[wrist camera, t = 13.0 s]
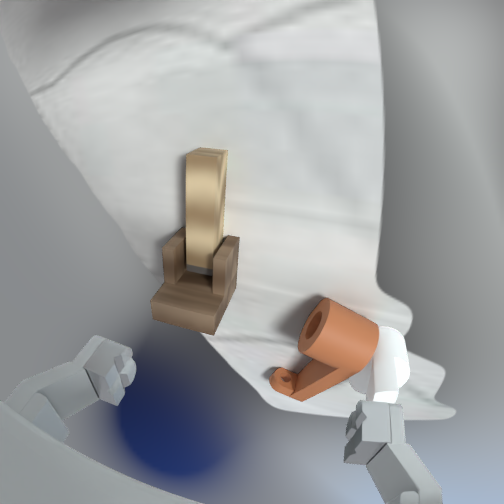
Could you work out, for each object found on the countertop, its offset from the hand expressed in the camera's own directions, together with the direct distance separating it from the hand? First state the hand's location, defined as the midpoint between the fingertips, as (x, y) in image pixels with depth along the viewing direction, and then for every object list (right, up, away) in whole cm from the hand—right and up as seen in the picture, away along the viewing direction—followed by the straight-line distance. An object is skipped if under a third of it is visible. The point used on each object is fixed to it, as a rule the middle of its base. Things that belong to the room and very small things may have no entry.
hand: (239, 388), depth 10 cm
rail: (-5, +11, +30) cm, 32 cm away
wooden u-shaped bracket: (-5, +4, +33) cm, 34 cm away
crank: (+10, -9, +37) cm, 40 cm away
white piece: (+20, -10, +35) cm, 41 cm away
